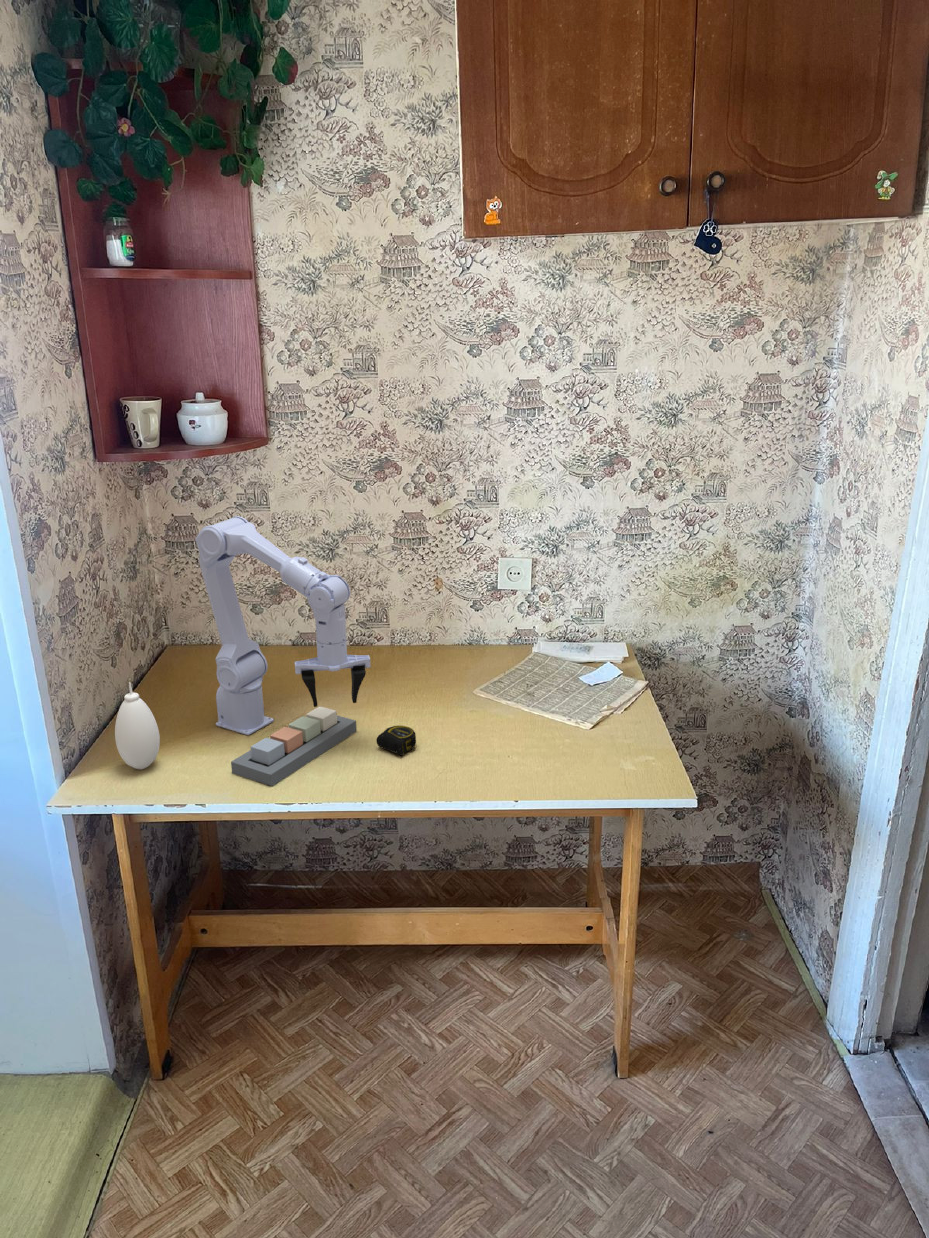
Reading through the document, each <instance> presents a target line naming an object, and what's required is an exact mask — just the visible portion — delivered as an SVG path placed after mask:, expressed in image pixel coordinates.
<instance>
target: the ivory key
mask: <svg viewBox="0 0 929 1238" xmlns="http://www.w3.org/2000/svg"><path fill="white" fill-rule="evenodd" d="M337 711H338V710H334V709H331V708H328V707H324V706H317V707H315V708H314V709H312V710H311V711H309V712H308V713H306V714H305V715H306V716H305V717H308V718H311V719H315V720H318V721H320V731H325V730H327V729H329V728H330V727H332V726H333V725H335V724H337V715H338V714H337V713H338V712H337Z"/></svg>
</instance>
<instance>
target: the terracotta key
mask: <svg viewBox="0 0 929 1238" xmlns="http://www.w3.org/2000/svg"><path fill="white" fill-rule="evenodd" d="M269 738H270V739H273V740H277V741H280V742H283V743H284V752H285V753H290V752H292V751H293V750H295V749H296V748H298V747H300V746H301V745H303V736H302V731H299V730H295V729H292V728H289V726H284V727H282V728H280V729H278V730H277V731H275V732H273V733H272V734H269Z"/></svg>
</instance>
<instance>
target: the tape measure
mask: <svg viewBox="0 0 929 1238" xmlns="http://www.w3.org/2000/svg"><path fill="white" fill-rule="evenodd" d="M416 737H417V735H416V732H415V730H414V729H413V728H412V727H409V726H406V725H393V726H390V727H388V728H385V730H384V731H383V732H381V733H380V734H378V735H377V737H376V745H377V746H378V747H380V748H382V749H384V750H388V751H390V752H393V753H396V754H398V755H400V756H403V755H405V754H406V752H409V751H411V750H412V749H414V747H415V746H416V744H417V738H416Z"/></svg>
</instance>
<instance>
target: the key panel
mask: <svg viewBox="0 0 929 1238" xmlns="http://www.w3.org/2000/svg"><path fill="white" fill-rule="evenodd" d="M357 730H358V729H357V720H356V719H352V718H348V717H345V716H341V715H338V714H337V724H335V725H333V726H332V727H330V728H329V729H327V730H325V731H320V732H321V734H319V735H317V736H316V737H314V738H313V739H311V740H309V741H308V742H304V741H303V745H301V746H300V747H298V748H296V749H295V750H293V751H292V752H290V753H285V756H284V757H282V758H280V759H279V760H277V761H276V762H274V763H272V764H271V765H266V764H263V763H260V762H257V761H254V760H252V756H251V749H250V750H248V751H247V752H244V753H243V754H242V755H240V756H238V757H236V758H234V759H233V760H231V761H230V765H231V766H230V767H231V773H232V774H233V775H236V776H240V777H241V778H245V779H248V780H252V781H255V782H257V783H259V784H262V785H263V784H264V785H266V786H268V787H271V788H272V787H274V786H275V785H277V784H278V783H280V782H281V781H283V780H285V779H286V778H287V777H289V776H291V775H292V774H295V772H296V771H298V770H300V769H302V768H303V767H304V766H306V765H307V764H309V763H311V762H312V761H314V760H315V759H316V758H318V757H320V756H321V755H323V754H325V753H326V752H328V751H329V750H330V749H332V748H333V747H335V746H337V745H338V744H340V743H342V742H343V741H344V740H346V739H347V738H349V737H350V736H352V735H353V734H355V733H356V732H358V731H357Z"/></svg>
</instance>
